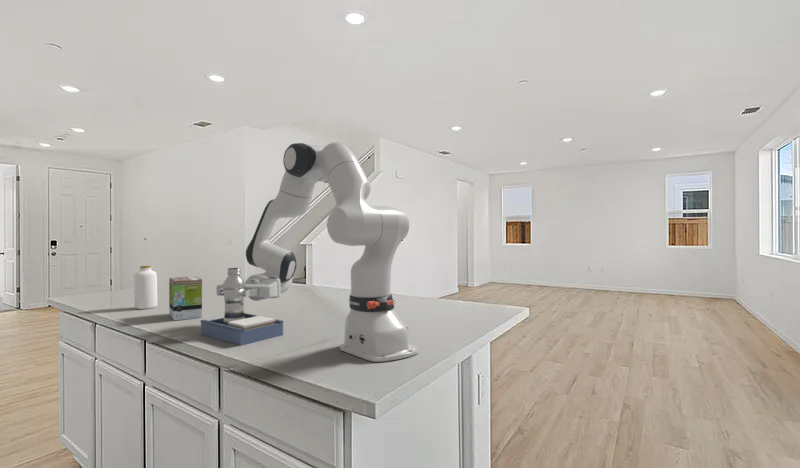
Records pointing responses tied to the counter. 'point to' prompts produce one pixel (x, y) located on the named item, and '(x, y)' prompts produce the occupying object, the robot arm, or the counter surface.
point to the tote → (240, 331)
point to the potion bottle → (145, 288)
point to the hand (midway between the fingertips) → (231, 293)
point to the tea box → (185, 297)
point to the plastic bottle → (233, 296)
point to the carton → (252, 322)
